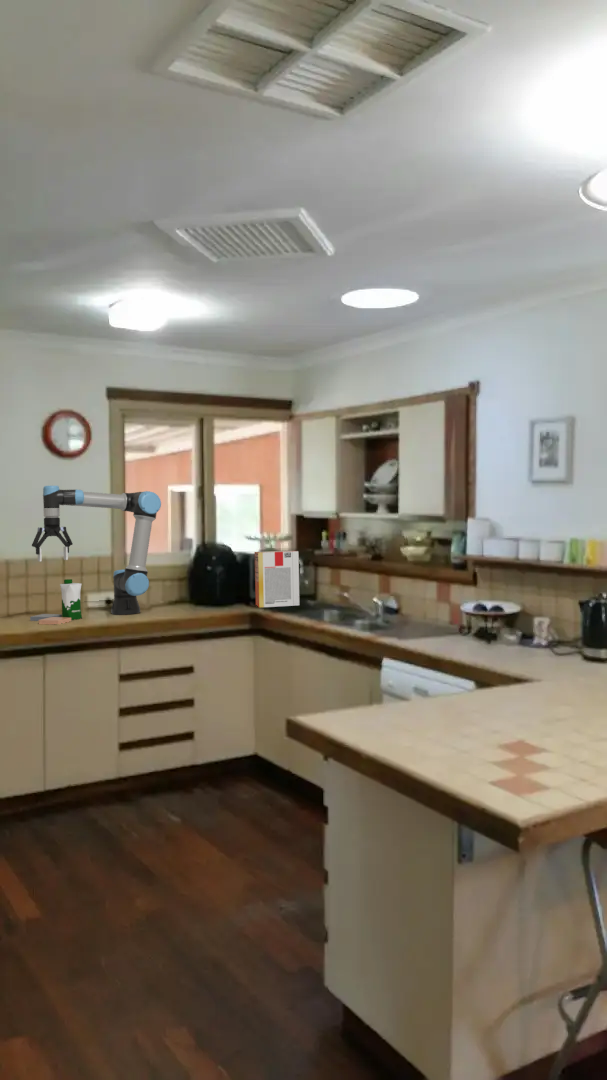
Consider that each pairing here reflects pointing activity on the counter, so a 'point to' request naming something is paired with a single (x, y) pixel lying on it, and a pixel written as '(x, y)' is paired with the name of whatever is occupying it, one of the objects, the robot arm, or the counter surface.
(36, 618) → the slate tile
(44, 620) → the terracotta tile
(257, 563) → the pasta box
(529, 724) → the counter surface
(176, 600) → the counter surface
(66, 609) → the soya milk
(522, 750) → the counter surface
